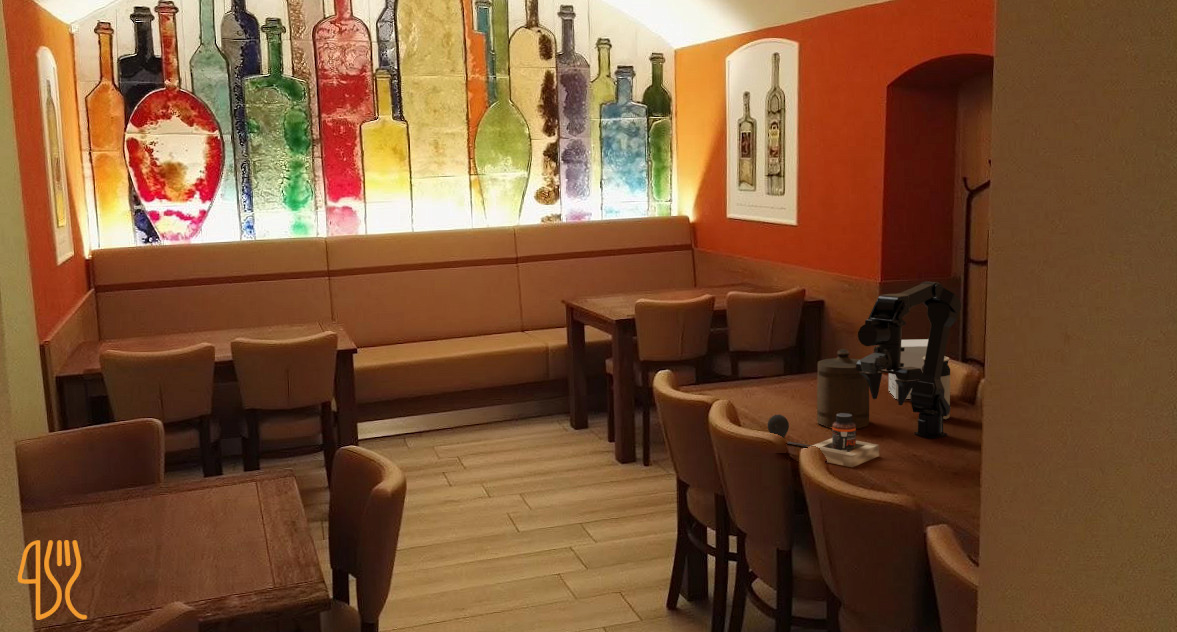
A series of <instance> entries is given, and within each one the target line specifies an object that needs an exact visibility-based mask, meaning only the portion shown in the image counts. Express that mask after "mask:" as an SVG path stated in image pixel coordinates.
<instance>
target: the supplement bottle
mask: <svg viewBox="0 0 1177 632" xmlns="http://www.w3.org/2000/svg"><path fill="white" fill-rule="evenodd" d="M831 436H832V437H831V438H832V449H836V450H841V451H846V452H850V451H852V450H855V449H856V441H857V439H856V438H857V429H856V425H855V423H853V421H852V415H851V414H847V413H840V414H837V415H836V422H834V423H833V428H832V435H831Z"/></svg>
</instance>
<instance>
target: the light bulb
mask: <svg viewBox="0 0 1177 632" xmlns="http://www.w3.org/2000/svg"><path fill="white" fill-rule="evenodd" d="M789 428H790V424H789V421H788V419H787V418H786V417H785V416H784V415H782V414H774V415H772V416H771V417H770V418H769V419H768V421H767V429H768V432H769V434H770V433H774V434H778V435H780V436H782V437H783V438H784V439H785V437H786V435H787V433H788V431H789Z"/></svg>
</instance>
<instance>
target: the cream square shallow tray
mask: <svg viewBox="0 0 1177 632" xmlns="http://www.w3.org/2000/svg"><path fill="white" fill-rule="evenodd" d="M832 438H833V437H831V438H828V439H826V440H823V441H820V442H818V443H815V444H812V445H811V446H816V447H818V448H820V450H821V451H822V453H823V454H824V455H825V457H826V459H827V462H826V463H829V464H834V465H838V466H843V467H847V468H854V467H857V466H859V465H861V464H864V463H866V462H868V461H869V462H870V461H871V460H874V459H875V458H877V457H880V444H876V443H872V442H866V441H862V440H861V441H860V440H856V449H855V450H852V451H850V452H846V451H841V450H836V449H832ZM811 446H809V447H811Z"/></svg>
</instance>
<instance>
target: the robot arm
mask: <svg viewBox="0 0 1177 632" xmlns="http://www.w3.org/2000/svg"><path fill="white" fill-rule="evenodd" d="M920 304H923V305H924V306H925V307H926V308H927V309H926V315H927V319H928V320H929V323H930V329H929V335H928V338H927V339H928V344H927V350H926V356H925V361H924V367H923V371H922V370H921V368H916V367H904V363H901V352H903V351H904V349H905V348H904V347H901V340H903V339H902V335H903V334H902V332H903V326H906V325H907V321H905V320H904V319H903V318H904V317H905V316H907V315H908V314H909V313H910V310H911V309H912V308H913V307H915V306H918V305H920ZM961 309H962V303H961V300H960V299H959V297H958V296H957V295H956V294H955V293H954V292H952V291H951V290H948V289H947V288H945V287H944V286H943V285H942V284H941V283H939V282H936V281H922V282H921V283H920V284H918V285H916V286H914V287H911V288H909V289H906V290H904V291H902V292H898V293H886V294H880V295H879V296H878V297H877V300H876V301H875V303H874V305H873V307H872V308H871V311H870V314H869V316H868V318H867V319H865V321H864V324H863V325H862V326H860V328H859V330H858V331H857V337H858V339H857V340H858V341H859V342H860V343H861V345H863V346H864V347H873V346H874V349H873V353H871V354H868V355H867V356H865V357H863V358H861V359H859V361H858V362H857V363H856V370H857V371H861V372H859V373H860V374H861V375H863V376H864V377H865V378H866V380H867V382H868V385H869V392H870V394H871V398H872V399H873V400H877V399H878V396H879V392H880V391H879V390H880V388H881V387H880V386H881V382H882V377H883V373H886V374H889V373H891V374H895V375H896V377H897V379H898V380H895V381H896V383H897V384H898V400H897V403H898V406H903V405H904V403H905V401H906V400H905V399H906V398H907V396H908V394H909V392H910V390H911V389H912V391H911V394H910V395H911V397H910V399H911V400H910V404H911V409H912V412H913V413H917V414H918V419H917V431H914V432H913V434H914V435H917V436H921V437H925V438H927V439H935V438H936V439H937V438H940V437H946V436H948V433H947V432H944V420H943V416H948V414H949V412H951V406H950V405H951V404H950V405H949V404H948V402H947V401H946V399H945V398H944V392H945V390H944V387H943V385H942V382H941V373H942V367H943V362H944V356H946V349H947V345H948V338H949V332H950V329H951V327H953V325H954V324H955V323H956V322H957V320H958V319H959V315H960V312H961ZM900 367H901V368H900ZM892 370H893V371H892Z"/></svg>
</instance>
